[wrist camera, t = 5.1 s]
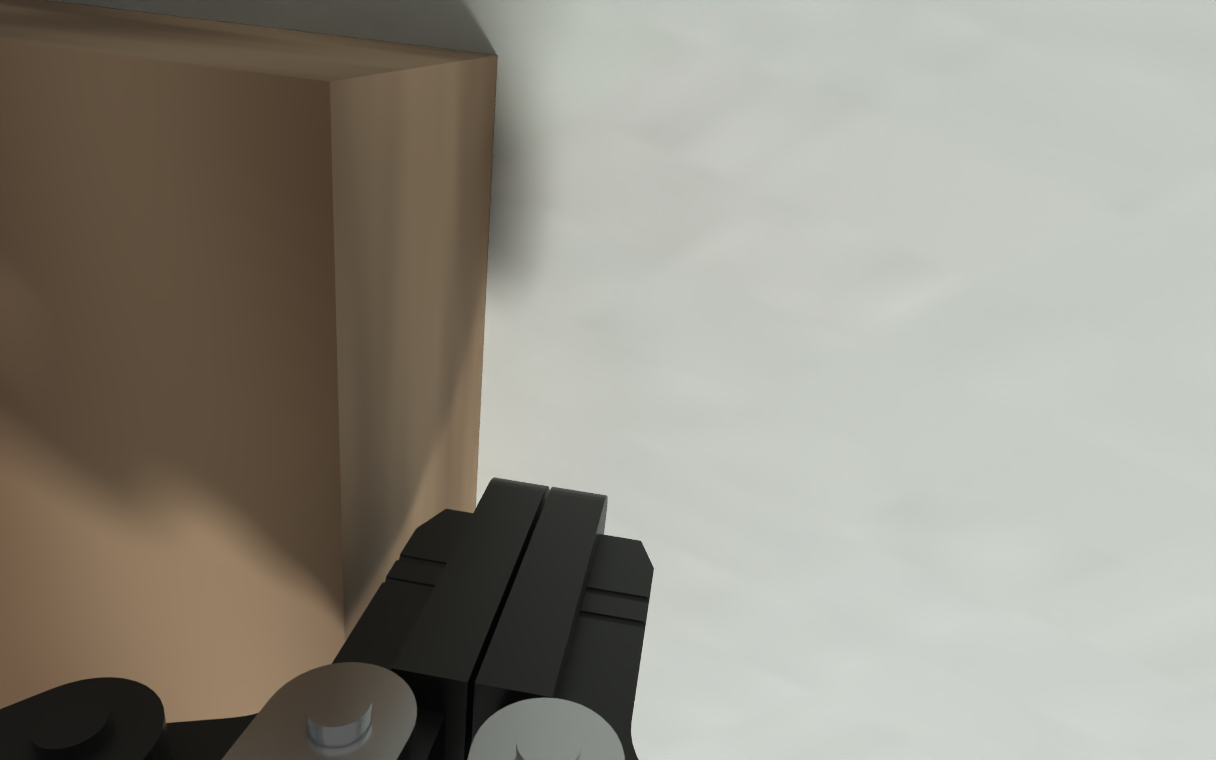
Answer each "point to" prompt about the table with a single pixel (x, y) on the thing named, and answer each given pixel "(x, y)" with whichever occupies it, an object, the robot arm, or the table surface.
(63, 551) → the walnut block
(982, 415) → the table surface
